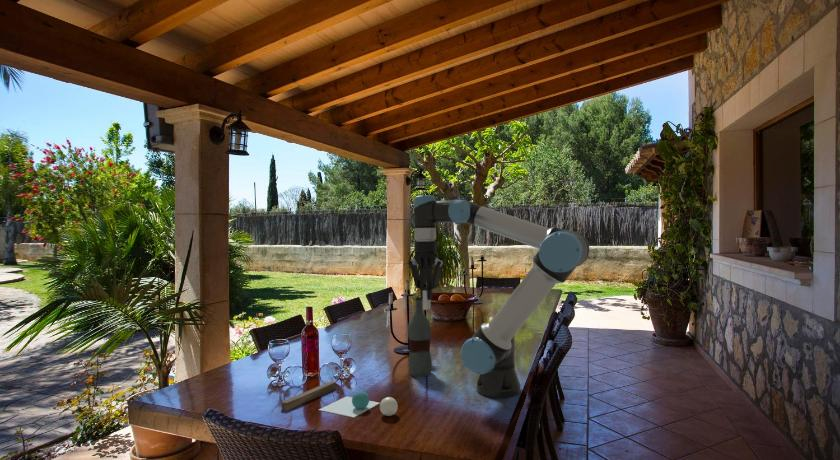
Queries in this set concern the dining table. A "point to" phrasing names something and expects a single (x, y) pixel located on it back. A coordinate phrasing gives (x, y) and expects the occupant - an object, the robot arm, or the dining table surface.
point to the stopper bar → (308, 395)
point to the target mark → (347, 407)
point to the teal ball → (360, 400)
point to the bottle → (419, 342)
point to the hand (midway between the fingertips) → (426, 309)
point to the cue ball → (388, 406)
